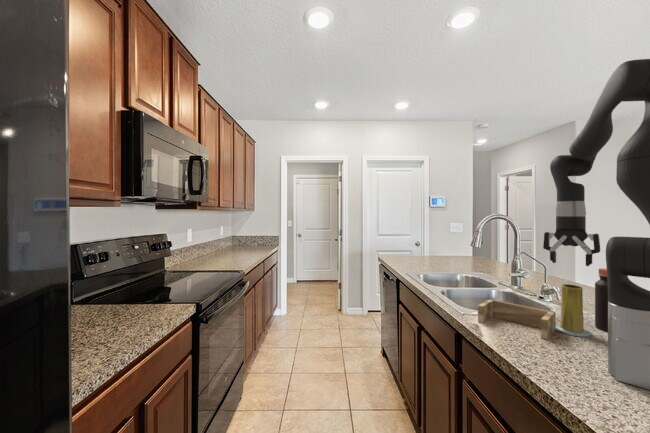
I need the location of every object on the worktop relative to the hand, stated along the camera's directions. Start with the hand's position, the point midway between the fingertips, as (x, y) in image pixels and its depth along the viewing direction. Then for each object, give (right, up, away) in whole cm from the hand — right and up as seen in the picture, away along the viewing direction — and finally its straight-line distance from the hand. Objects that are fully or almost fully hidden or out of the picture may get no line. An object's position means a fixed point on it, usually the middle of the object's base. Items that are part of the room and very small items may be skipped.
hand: (570, 264), depth 96 cm
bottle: (+14, -22, +1) cm, 26 cm away
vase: (0, -22, 0) cm, 22 cm away
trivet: (0, -22, 0) cm, 22 cm away
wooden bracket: (-16, -22, +4) cm, 28 cm away
